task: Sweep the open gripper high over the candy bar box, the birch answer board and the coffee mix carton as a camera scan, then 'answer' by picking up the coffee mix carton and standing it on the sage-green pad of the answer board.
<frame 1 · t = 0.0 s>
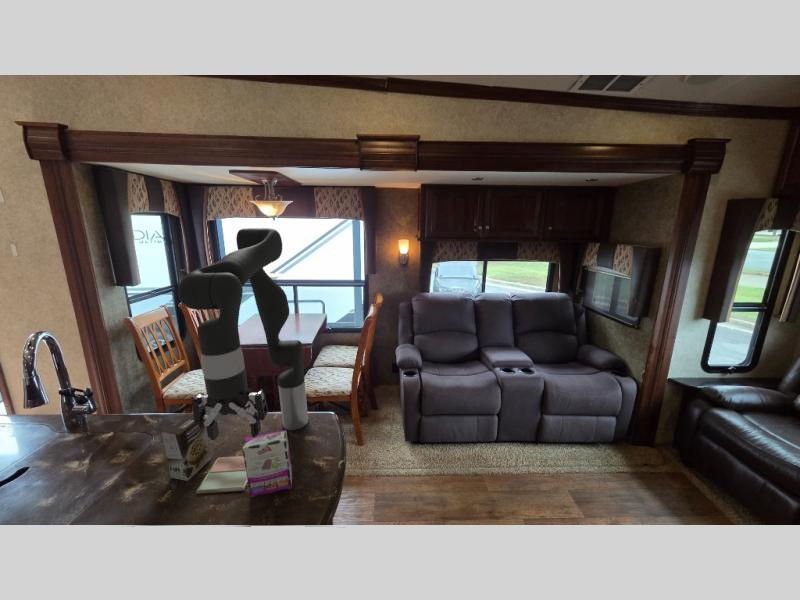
hand: (235, 436, 68), 29 cm above the countertop, fingers open, 8 cm apart
answer board: (230, 474, 95), on the countertop
candy bar box: (272, 487, 91), on the countertop
coffee box: (192, 468, 98), on the countertop
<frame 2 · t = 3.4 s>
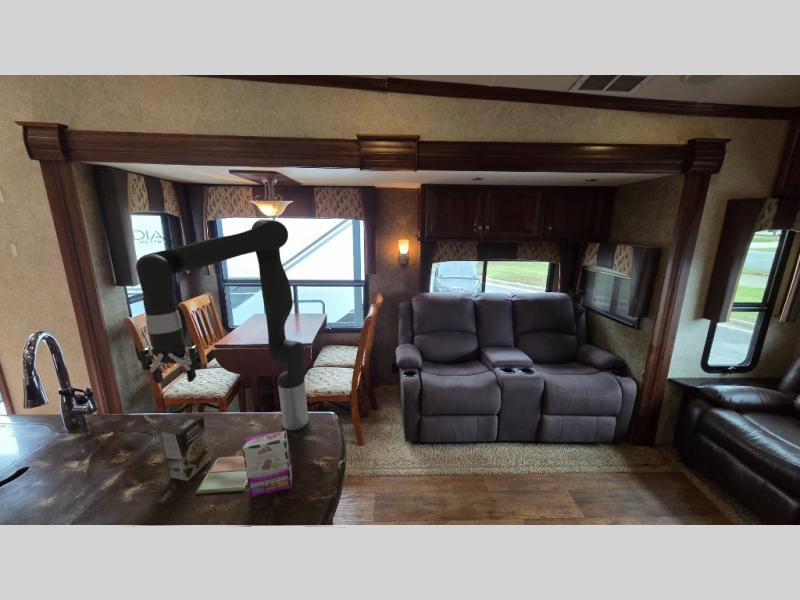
hand: (175, 381, 89), 30 cm above the countertop, fingers open, 8 cm apart
nothing on the countertop moved.
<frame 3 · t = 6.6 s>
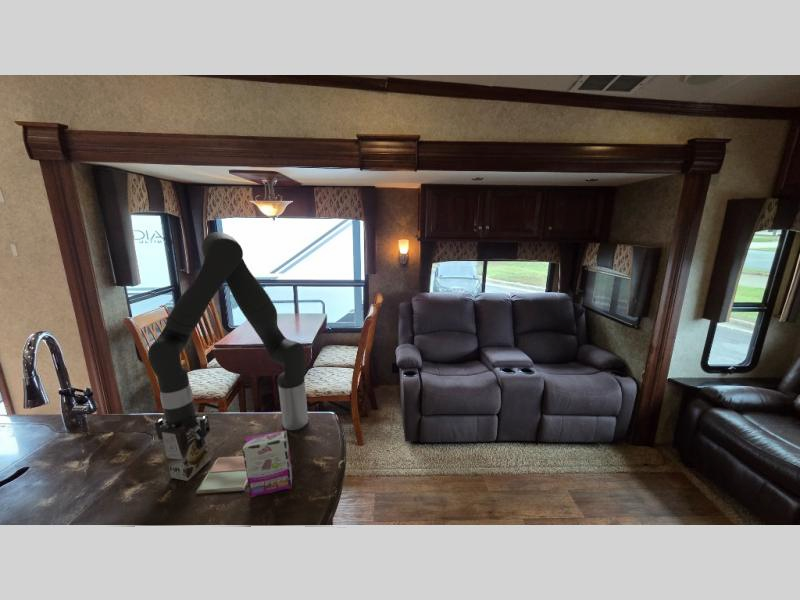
hand: (187, 448, 96), 8 cm above the countertop, fingers closed on coffee box, 7 cm apart
coffee box: (192, 468, 98), on the countertop, touching gripper
everything else where it was.
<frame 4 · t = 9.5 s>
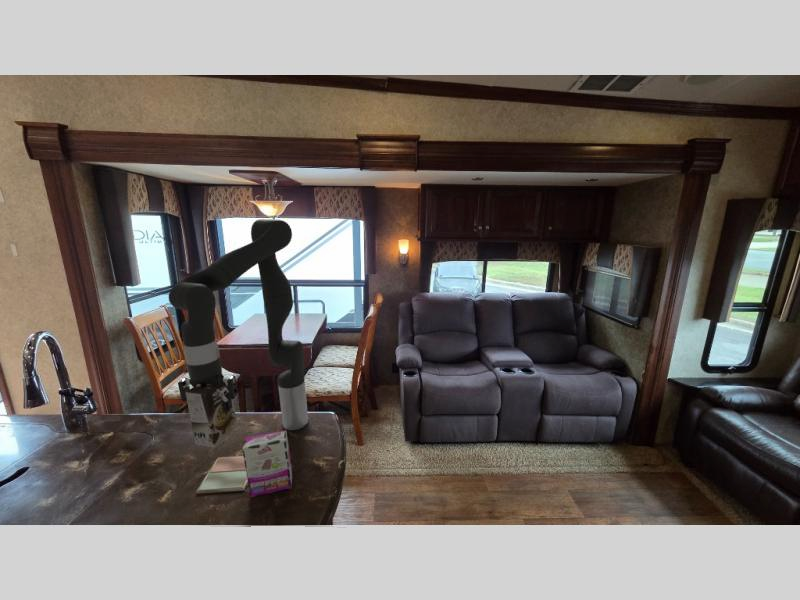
hand: (213, 412, 86), 24 cm above the countertop, fingers closed on coffee box, 7 cm apart
coffee box: (217, 435, 88), point 16 cm above the countertop, touching gripper
everything else where it was.
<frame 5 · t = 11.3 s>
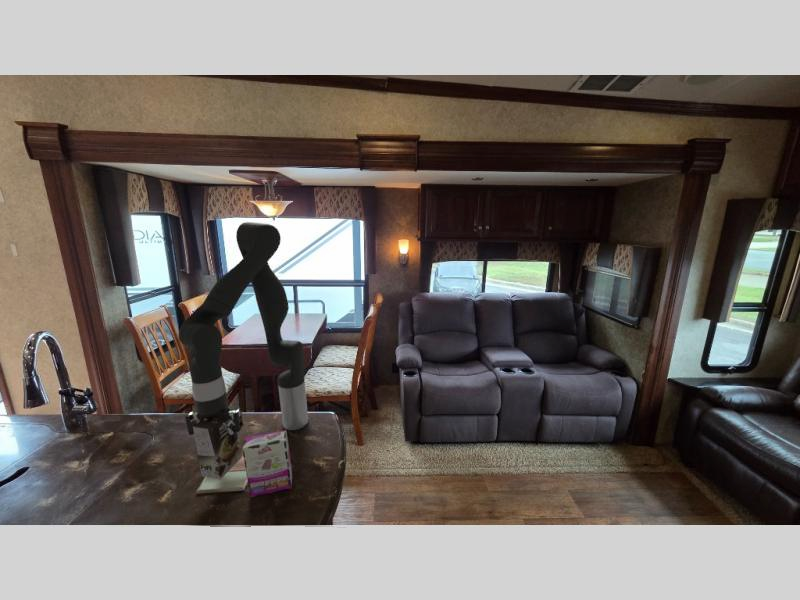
hand: (219, 444, 89), 13 cm above the countertop, fingers closed on coffee box, 7 cm apart
coffee box: (223, 466, 91), point 6 cm above the countertop, touching gripper
everything else where it was.
when the fingers open (10 cm above the countertop, at t = 12.7 s): coffee box drops 1 cm, resting on answer board.
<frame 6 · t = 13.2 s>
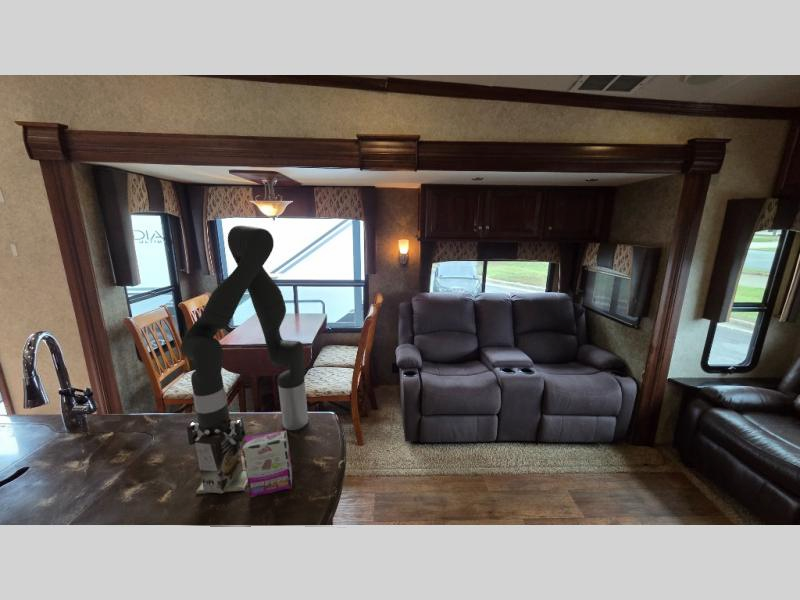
hand: (220, 453, 90), 10 cm above the countertop, fingers open, 8 cm apart
coffee box: (224, 480, 92), point 1 cm above the countertop, touching answer board
everything else where it was.
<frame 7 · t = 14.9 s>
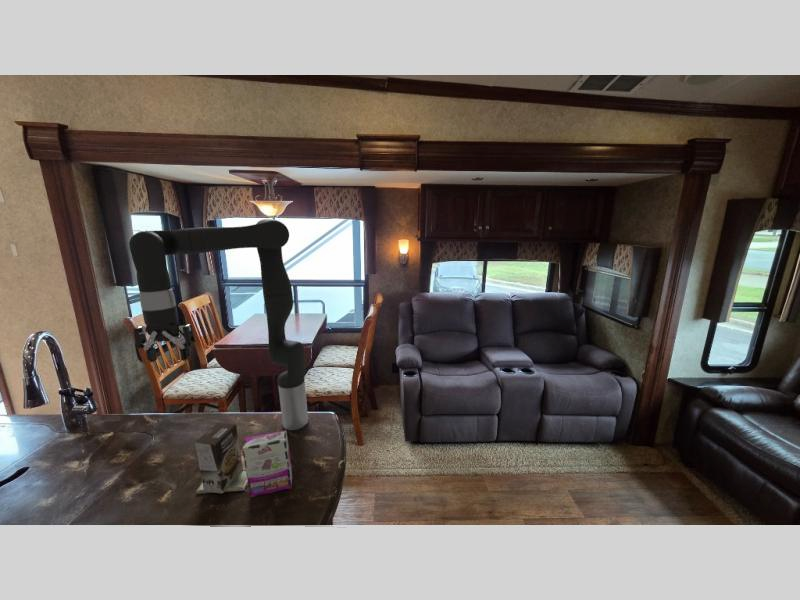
hand: (169, 360, 89), 36 cm above the countertop, fingers open, 8 cm apart
nothing on the countertop moved.
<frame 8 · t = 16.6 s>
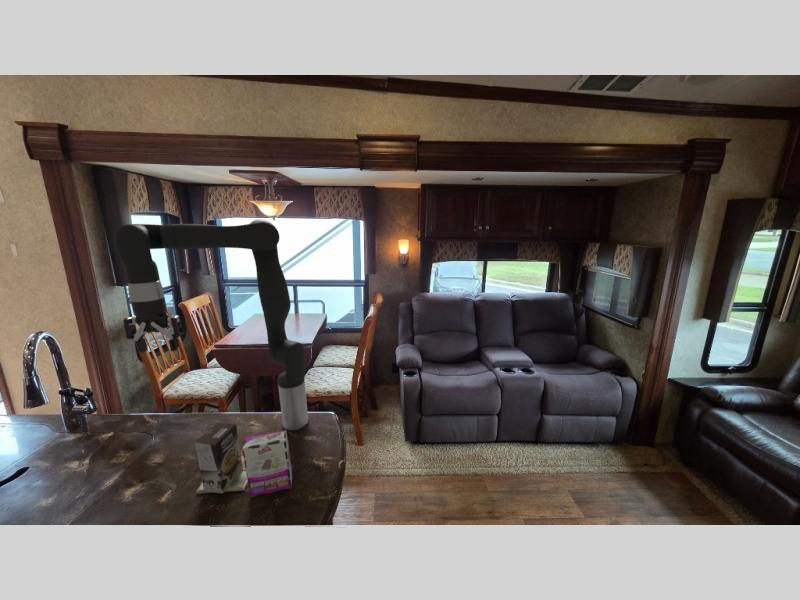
hand: (159, 350, 91), 38 cm above the countertop, fingers open, 8 cm apart
nothing on the countertop moved.
at the end: coffee box inside the target area on the answer board (0.7 cm from its centre), point 0.8 cm above the answer board's base; coffee box tilted 0°; the gripper is holding nothing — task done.
